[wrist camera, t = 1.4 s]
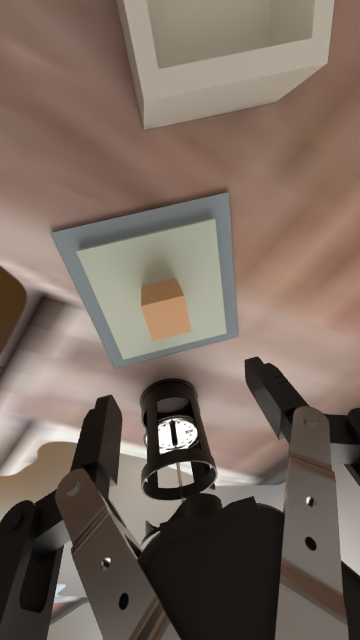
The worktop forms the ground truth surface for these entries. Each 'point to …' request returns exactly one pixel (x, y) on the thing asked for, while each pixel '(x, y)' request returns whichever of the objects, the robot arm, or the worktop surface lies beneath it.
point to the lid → (159, 287)
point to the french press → (177, 453)
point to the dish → (220, 53)
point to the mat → (144, 224)
